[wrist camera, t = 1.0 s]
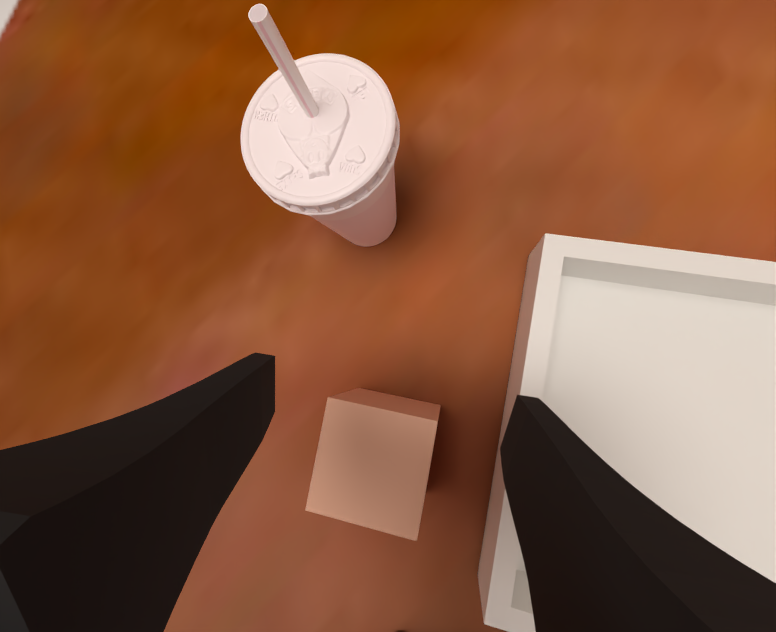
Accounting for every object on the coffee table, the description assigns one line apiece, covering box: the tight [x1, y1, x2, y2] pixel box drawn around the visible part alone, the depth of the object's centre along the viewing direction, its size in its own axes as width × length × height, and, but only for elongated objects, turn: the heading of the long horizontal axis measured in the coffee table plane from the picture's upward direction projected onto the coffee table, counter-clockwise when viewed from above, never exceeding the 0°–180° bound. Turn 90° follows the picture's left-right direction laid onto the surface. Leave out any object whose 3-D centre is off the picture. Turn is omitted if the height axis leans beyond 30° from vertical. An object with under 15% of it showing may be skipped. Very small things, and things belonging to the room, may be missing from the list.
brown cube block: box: [306, 388, 441, 541], centre depth 19 cm, size 5×5×6 cm
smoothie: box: [241, 4, 400, 247], centre depth 17 cm, size 6×6×14 cm
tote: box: [478, 233, 776, 632], centre depth 18 cm, size 18×18×4 cm
